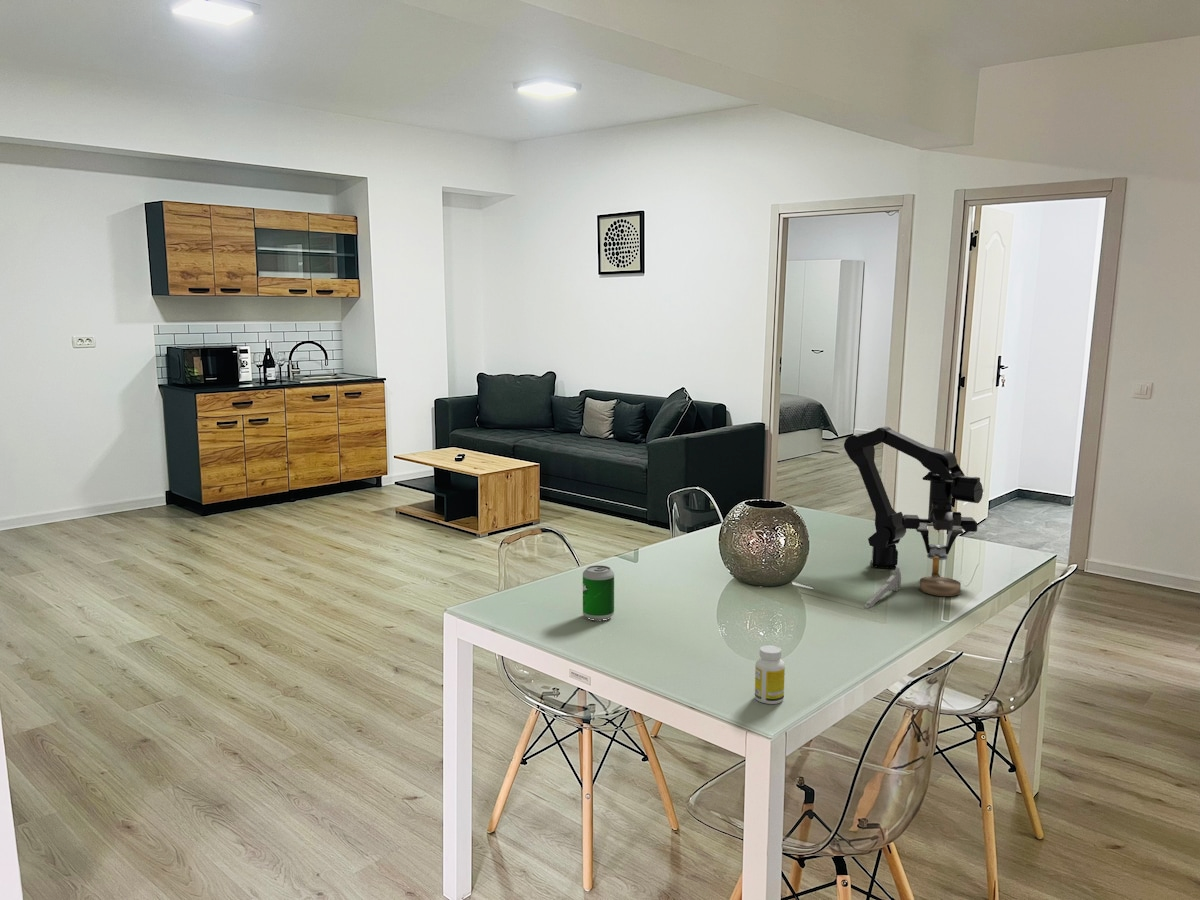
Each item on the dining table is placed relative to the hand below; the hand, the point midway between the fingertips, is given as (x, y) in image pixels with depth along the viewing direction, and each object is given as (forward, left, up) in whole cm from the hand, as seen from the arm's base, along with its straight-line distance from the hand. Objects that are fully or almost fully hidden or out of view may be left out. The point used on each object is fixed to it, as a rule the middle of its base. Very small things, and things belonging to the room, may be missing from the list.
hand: (937, 553), depth 245 cm
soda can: (-84, -51, -7) cm, 99 cm away
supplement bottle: (-43, -89, -7) cm, 100 cm away
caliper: (-16, -22, -7) cm, 29 cm away
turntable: (-1, -12, -6) cm, 13 cm away
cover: (0, 0, -1) cm, 1 cm away
